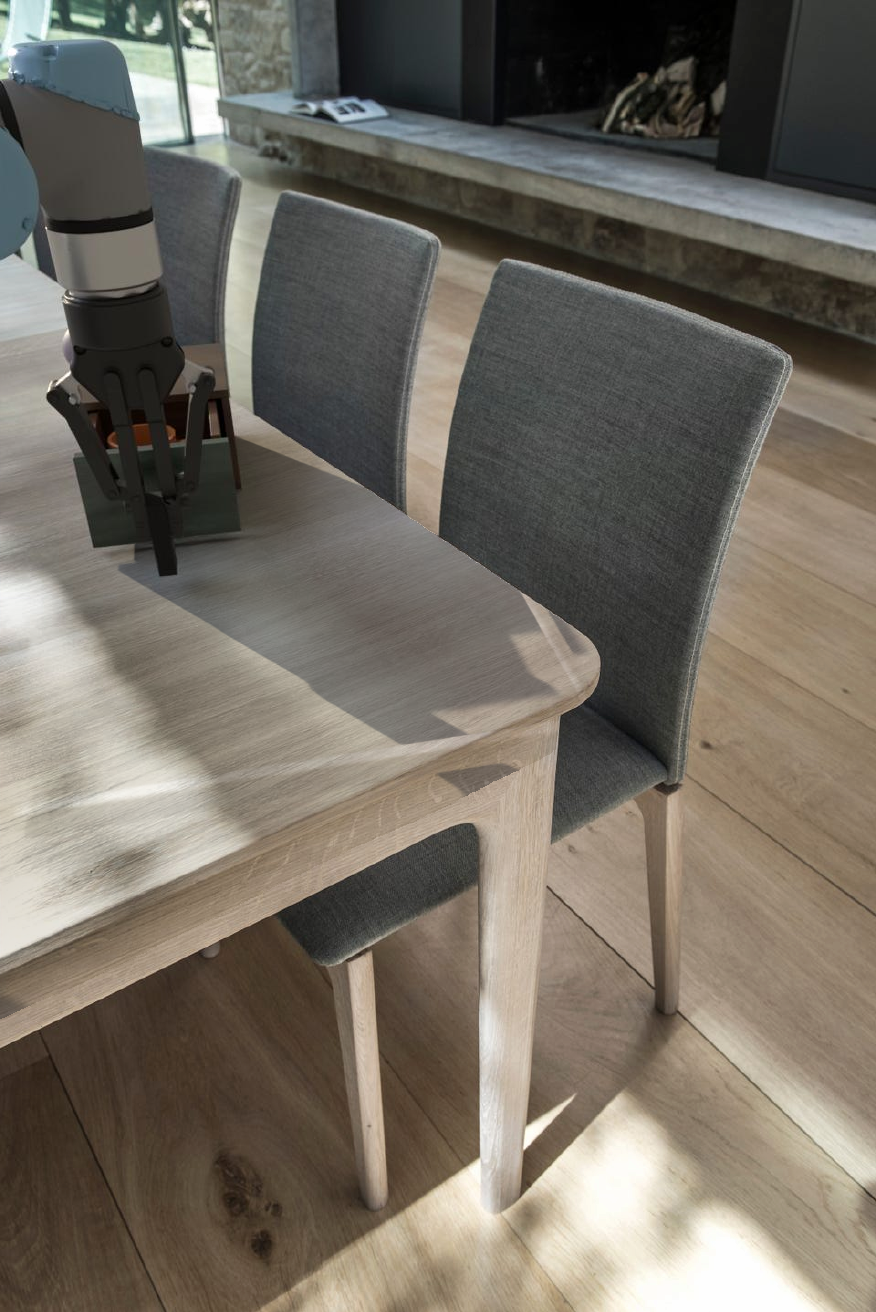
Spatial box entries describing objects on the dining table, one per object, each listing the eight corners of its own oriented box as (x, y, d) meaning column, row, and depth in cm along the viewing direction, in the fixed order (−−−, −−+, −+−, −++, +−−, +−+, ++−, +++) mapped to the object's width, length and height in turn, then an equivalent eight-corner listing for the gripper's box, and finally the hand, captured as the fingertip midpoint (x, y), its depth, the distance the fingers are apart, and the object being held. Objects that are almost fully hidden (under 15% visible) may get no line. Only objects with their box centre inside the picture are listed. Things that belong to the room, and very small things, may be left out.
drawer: (244, 554, 94) (231, 462, 89) (90, 572, 92) (68, 479, 87) (233, 470, 110) (221, 388, 105) (101, 484, 107) (83, 401, 102)
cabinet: (242, 490, 108) (228, 389, 102) (95, 506, 105) (72, 404, 99) (233, 434, 120) (221, 342, 114) (103, 448, 118) (83, 354, 112)
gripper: (202, 265, 81) (242, 539, 94) (26, 279, 79) (92, 557, 92) (204, 290, 75) (247, 579, 88) (13, 305, 73) (86, 599, 86)
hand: (168, 568), depth 90 cm, fingers closed
